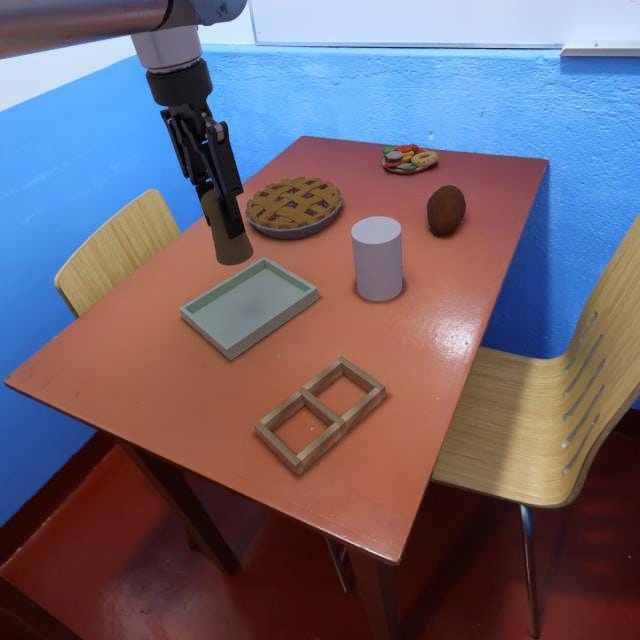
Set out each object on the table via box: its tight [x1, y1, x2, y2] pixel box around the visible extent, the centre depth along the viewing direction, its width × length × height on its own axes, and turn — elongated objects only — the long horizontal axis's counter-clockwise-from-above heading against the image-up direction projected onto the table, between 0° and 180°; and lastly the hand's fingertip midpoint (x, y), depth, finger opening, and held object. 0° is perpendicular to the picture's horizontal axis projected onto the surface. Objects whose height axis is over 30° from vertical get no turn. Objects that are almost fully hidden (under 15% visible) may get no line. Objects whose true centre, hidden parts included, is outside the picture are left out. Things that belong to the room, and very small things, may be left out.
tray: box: [178, 256, 320, 361], centre depth 84 cm, size 20×16×3 cm
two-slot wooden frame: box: [253, 355, 387, 477], centre depth 65 cm, size 17×9×2 cm, turn 133°
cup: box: [350, 215, 403, 302], centre depth 81 cm, size 8×8×12 cm
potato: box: [426, 184, 467, 236], centre depth 94 cm, size 8×12×8 cm, turn 160°
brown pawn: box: [200, 189, 254, 267], centre depth 72 cm, size 6×6×11 cm
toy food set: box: [381, 143, 440, 175], centre depth 117 cm, size 13×13×3 cm
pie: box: [244, 176, 344, 240], centre depth 105 cm, size 22×22×5 cm
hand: (226, 228), depth 72 cm, fingers closed on brown pawn, 5 cm apart
